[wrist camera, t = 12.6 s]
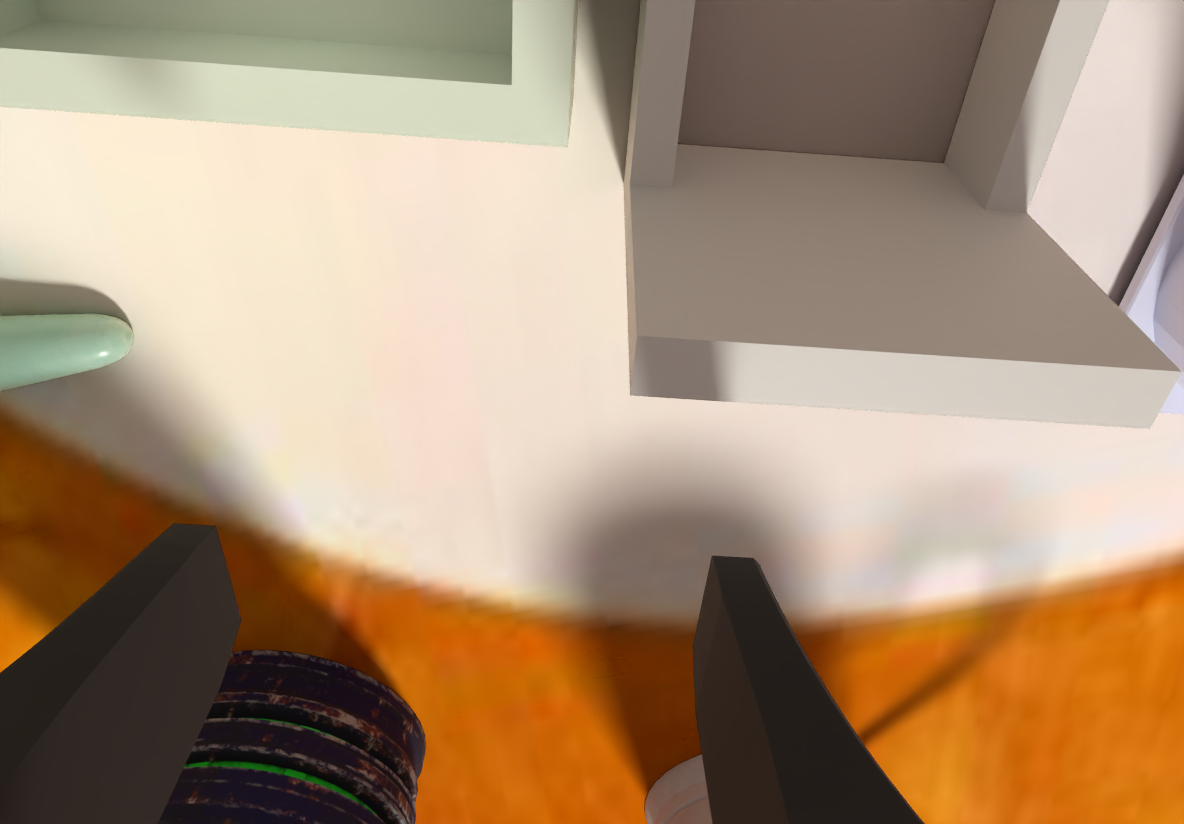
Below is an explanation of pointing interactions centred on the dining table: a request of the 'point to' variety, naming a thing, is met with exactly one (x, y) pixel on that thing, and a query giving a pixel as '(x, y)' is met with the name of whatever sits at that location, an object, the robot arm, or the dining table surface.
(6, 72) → the tray
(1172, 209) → the robot arm
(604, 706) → the dining table surface
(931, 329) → the dock
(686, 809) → the glass holder
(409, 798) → the storage jar
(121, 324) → the long green cone
